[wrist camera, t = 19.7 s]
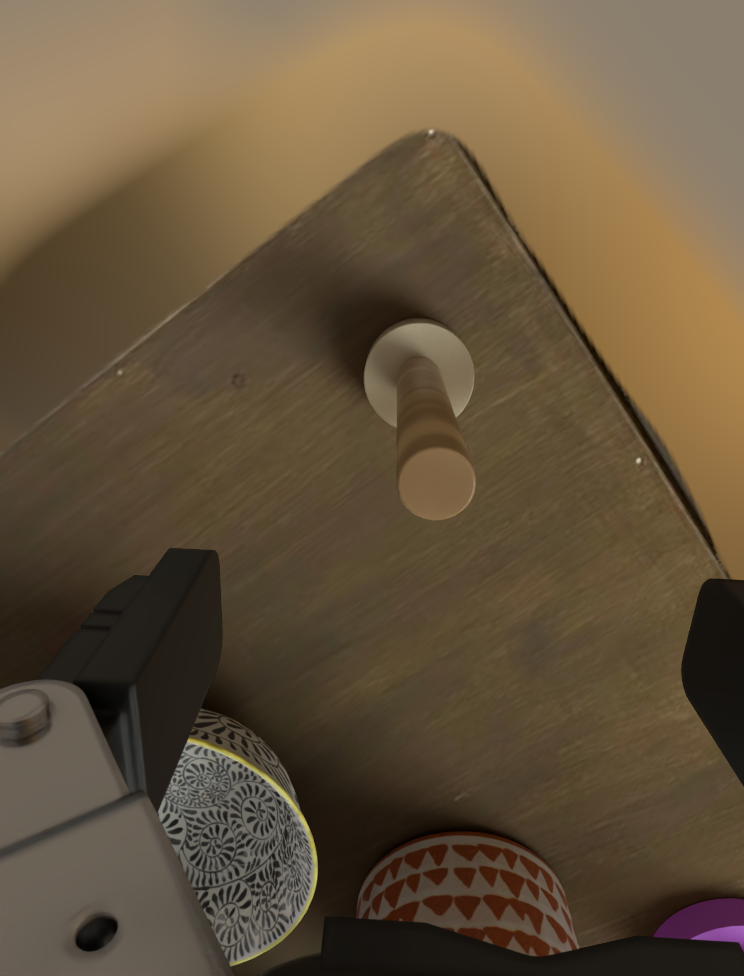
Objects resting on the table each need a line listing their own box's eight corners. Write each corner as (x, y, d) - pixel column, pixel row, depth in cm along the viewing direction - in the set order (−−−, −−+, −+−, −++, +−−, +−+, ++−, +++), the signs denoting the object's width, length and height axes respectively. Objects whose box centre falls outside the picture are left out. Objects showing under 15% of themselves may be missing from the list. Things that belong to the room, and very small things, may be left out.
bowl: (101, 607, 37) (31, 693, 30) (368, 696, 38) (362, 797, 31) (48, 810, 42) (-22, 924, 35) (284, 882, 43) (262, 1005, 36)
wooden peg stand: (347, 347, 31) (302, 440, 16) (443, 299, 30) (489, 350, 15) (393, 438, 33) (390, 601, 18) (486, 395, 32) (566, 527, 17)
